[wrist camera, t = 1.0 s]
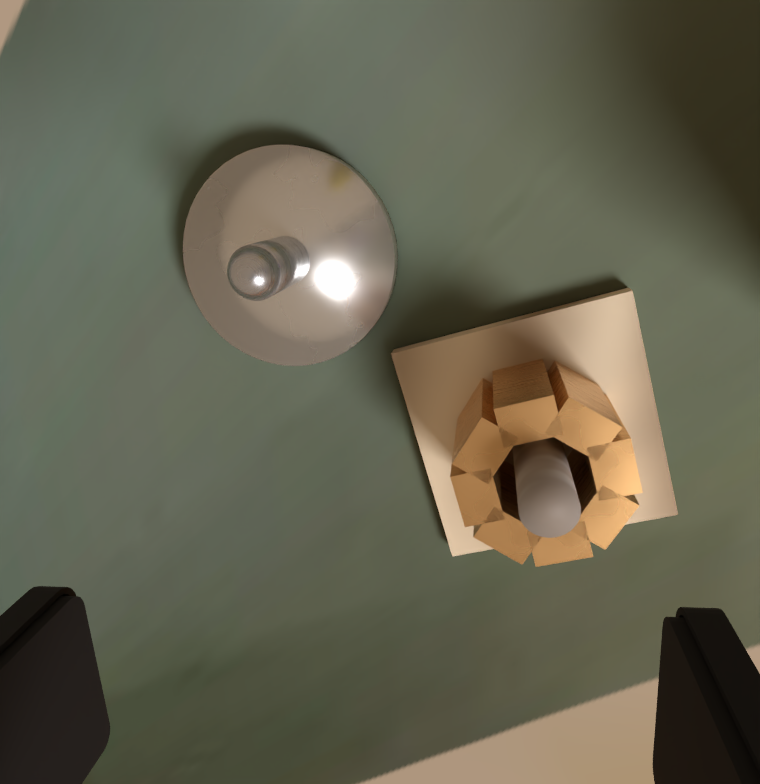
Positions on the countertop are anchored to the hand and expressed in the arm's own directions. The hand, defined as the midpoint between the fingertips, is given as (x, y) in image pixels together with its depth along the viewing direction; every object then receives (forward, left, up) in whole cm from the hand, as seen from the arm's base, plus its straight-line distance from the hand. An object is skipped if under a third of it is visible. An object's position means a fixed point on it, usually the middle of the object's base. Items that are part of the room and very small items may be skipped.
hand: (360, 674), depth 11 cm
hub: (+5, -6, -20) cm, 21 cm away
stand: (-3, +4, -20) cm, 20 cm away
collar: (-3, +4, -19) cm, 19 cm away
